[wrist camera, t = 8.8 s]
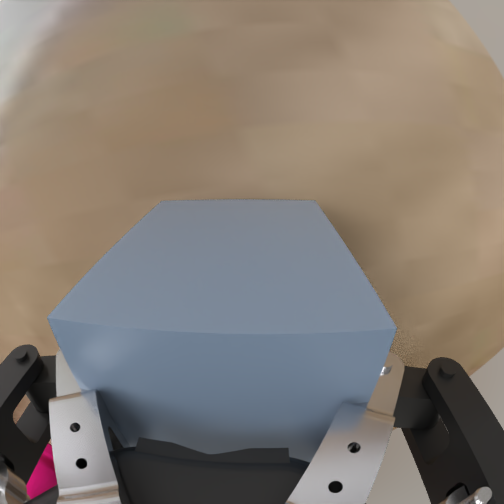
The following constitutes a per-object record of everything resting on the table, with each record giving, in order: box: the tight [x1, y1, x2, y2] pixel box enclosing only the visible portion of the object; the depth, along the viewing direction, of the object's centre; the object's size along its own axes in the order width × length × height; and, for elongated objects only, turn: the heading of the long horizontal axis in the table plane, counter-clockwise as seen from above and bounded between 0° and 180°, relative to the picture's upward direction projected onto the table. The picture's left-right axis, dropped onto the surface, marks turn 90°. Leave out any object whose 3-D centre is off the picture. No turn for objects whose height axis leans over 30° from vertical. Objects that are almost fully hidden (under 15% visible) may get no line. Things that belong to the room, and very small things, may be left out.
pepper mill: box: [26, 444, 57, 499], centre depth 21 cm, size 7×7×20 cm
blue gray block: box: [47, 199, 397, 463], centre depth 10 cm, size 7×7×9 cm
